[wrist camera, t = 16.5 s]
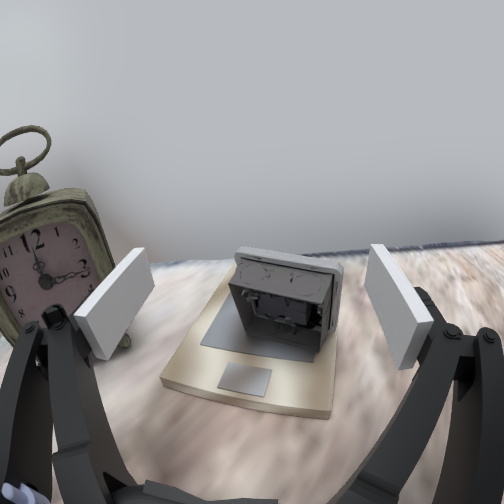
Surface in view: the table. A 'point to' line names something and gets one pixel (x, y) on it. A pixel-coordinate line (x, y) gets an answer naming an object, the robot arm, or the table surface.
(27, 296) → the tabletop clock
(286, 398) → the mounting board
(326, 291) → the electrical switch
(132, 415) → the table surface
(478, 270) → the table surface
